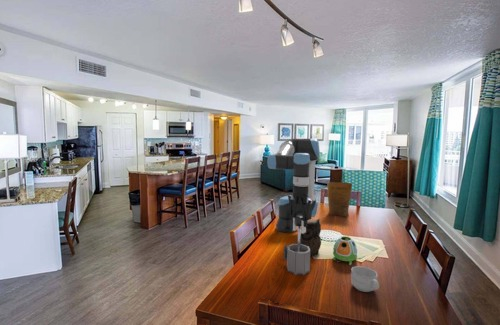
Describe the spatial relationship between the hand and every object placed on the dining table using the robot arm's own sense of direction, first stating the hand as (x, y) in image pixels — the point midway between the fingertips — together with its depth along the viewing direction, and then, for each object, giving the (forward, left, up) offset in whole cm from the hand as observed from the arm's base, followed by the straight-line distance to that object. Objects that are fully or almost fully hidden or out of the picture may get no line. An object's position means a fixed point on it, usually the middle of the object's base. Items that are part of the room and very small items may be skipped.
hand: (299, 231), depth 135 cm
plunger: (0, 0, -12) cm, 12 cm away
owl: (-8, +20, -20) cm, 29 cm away
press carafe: (-2, 0, -20) cm, 20 cm away
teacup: (+31, +7, -20) cm, 38 cm away
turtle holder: (+10, +29, -20) cm, 37 cm away
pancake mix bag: (-32, +98, -20) cm, 105 cm away
